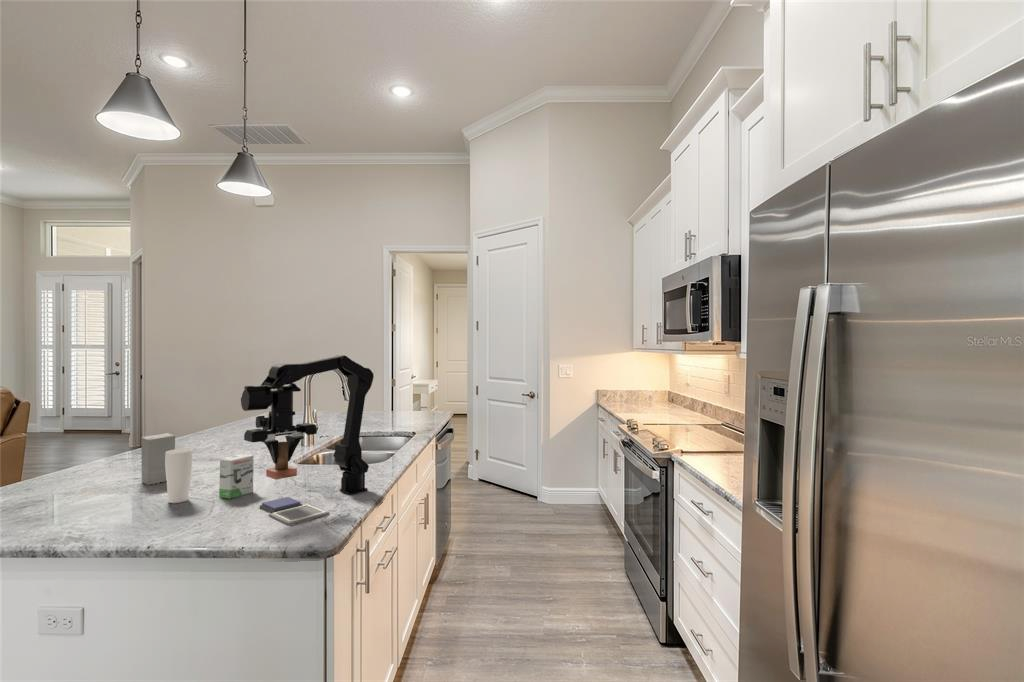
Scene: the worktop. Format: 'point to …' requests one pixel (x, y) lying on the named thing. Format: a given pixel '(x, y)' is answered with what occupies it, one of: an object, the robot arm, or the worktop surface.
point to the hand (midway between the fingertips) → (281, 462)
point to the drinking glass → (178, 474)
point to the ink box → (236, 476)
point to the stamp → (281, 464)
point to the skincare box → (155, 457)
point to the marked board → (299, 514)
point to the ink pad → (280, 504)
